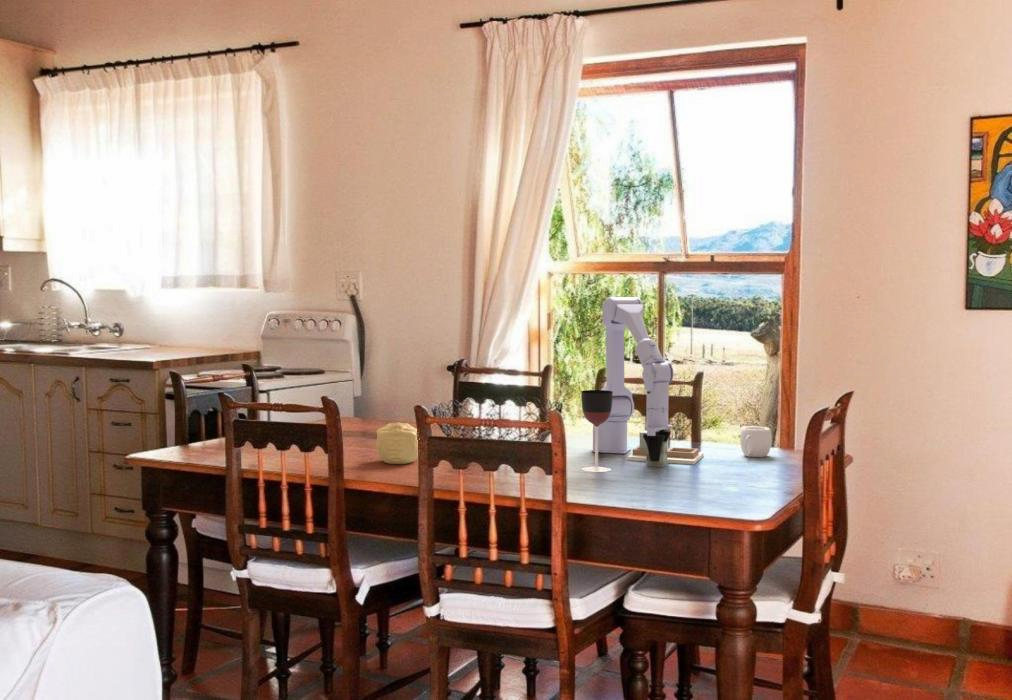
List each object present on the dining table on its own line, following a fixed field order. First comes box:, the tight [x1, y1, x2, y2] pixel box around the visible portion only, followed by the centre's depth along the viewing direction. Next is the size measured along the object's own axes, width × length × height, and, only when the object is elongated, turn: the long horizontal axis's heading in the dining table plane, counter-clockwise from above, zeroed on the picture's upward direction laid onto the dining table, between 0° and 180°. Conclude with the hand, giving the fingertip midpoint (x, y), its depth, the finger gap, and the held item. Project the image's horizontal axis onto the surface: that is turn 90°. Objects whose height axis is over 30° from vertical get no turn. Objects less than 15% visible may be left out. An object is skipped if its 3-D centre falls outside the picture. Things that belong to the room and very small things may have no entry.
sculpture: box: [375, 421, 419, 465], centre depth 277 cm, size 12×12×11 cm
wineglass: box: [580, 389, 614, 473], centre depth 267 cm, size 8×9×20 cm
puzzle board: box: [626, 429, 704, 465], centre depth 284 cm, size 18×14×7 cm
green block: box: [645, 441, 668, 468], centre depth 274 cm, size 4×4×6 cm
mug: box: [739, 425, 773, 458], centre depth 286 cm, size 12×8×8 cm
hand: (656, 459), depth 274 cm, fingers closed on green block, 4 cm apart
